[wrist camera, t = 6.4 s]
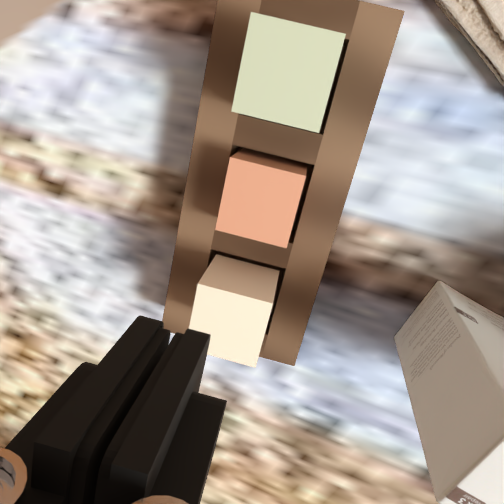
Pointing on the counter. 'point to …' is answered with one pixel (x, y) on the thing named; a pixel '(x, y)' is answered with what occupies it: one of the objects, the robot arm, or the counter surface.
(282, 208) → the terracotta key
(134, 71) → the counter surface
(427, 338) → the skincare box
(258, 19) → the sage key
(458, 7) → the washcloth
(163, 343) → the robot arm
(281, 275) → the brown slotted tray
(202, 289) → the cream key
